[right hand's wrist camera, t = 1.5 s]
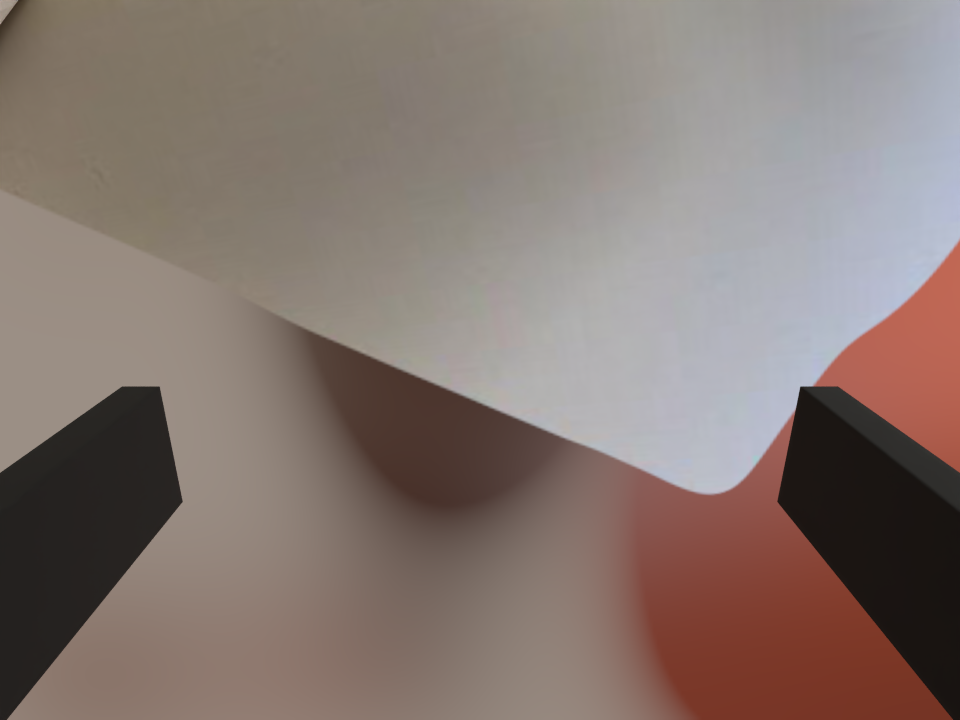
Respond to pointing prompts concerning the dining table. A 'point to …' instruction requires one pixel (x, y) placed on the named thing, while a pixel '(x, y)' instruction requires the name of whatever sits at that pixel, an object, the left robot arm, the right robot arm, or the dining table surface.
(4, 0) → the skull
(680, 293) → the dining table surface
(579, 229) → the dining table surface
